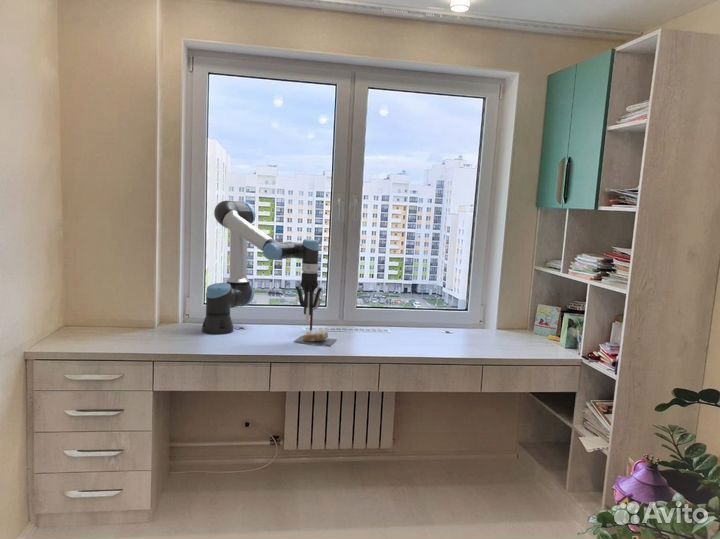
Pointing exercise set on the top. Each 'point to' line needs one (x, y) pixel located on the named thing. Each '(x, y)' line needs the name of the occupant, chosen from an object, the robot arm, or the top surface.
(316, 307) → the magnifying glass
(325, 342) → the mat
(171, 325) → the top surface
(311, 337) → the wooden block
